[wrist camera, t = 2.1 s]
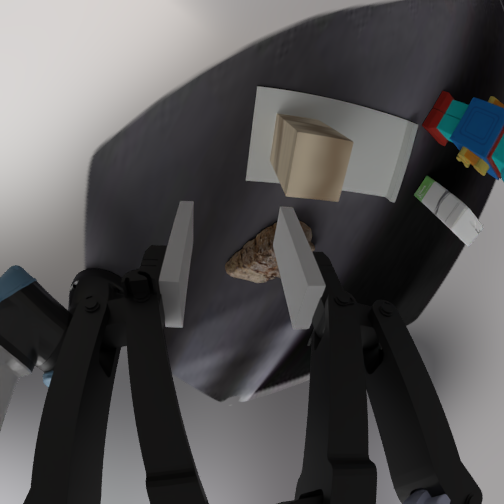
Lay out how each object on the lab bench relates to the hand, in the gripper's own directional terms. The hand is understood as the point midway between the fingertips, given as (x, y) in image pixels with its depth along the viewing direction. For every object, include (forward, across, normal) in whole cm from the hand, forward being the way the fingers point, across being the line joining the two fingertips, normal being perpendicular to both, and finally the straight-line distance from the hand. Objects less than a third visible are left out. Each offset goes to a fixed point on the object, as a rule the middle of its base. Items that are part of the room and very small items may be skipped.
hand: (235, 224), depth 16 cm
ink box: (+25, +38, -5) cm, 46 cm away
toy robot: (+25, +34, +10) cm, 43 cm away
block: (+24, +9, 0) cm, 26 cm away
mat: (+25, +16, 0) cm, 29 cm away
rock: (+25, +9, -20) cm, 34 cm away
